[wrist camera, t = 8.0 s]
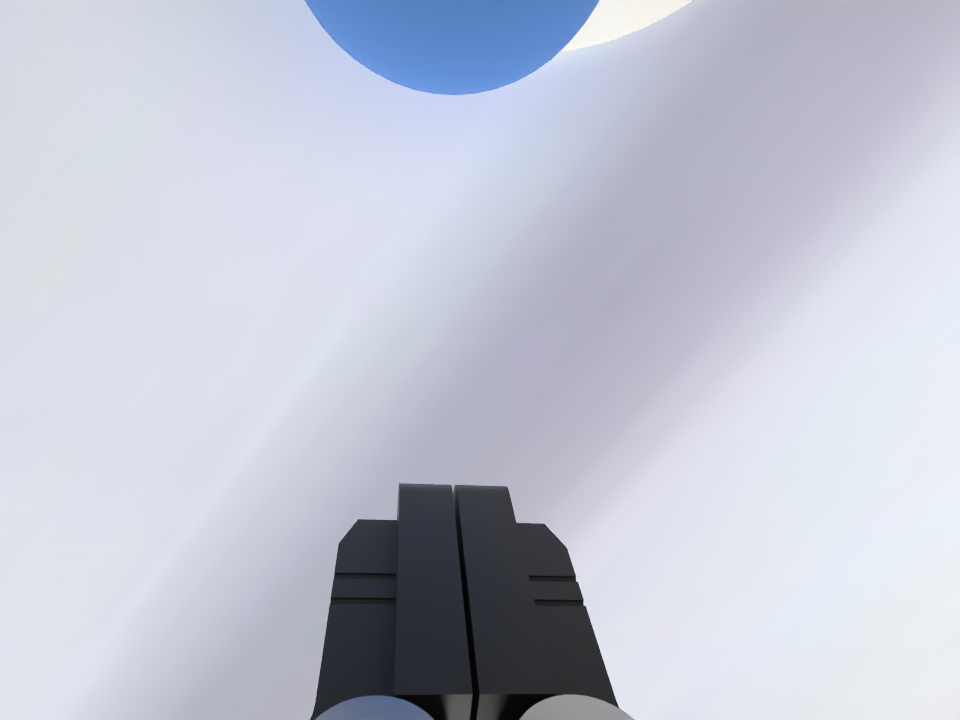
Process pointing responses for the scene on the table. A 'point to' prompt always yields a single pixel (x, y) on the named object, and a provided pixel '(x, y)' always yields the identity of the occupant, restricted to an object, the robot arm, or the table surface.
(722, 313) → the table surface
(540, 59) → the ball
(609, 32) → the disc
